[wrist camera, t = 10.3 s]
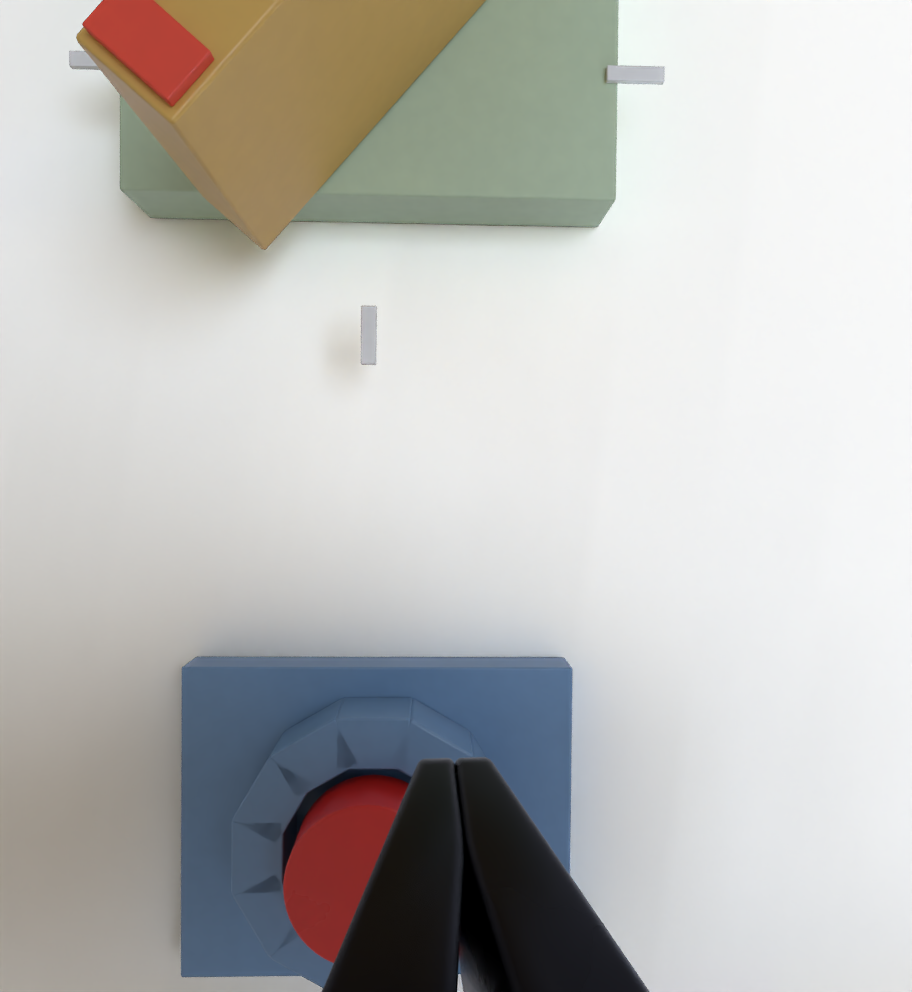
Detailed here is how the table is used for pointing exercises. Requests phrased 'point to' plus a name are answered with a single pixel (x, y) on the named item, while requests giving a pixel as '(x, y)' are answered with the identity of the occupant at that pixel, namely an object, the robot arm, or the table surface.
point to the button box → (338, 773)
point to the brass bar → (265, 87)
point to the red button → (338, 857)
